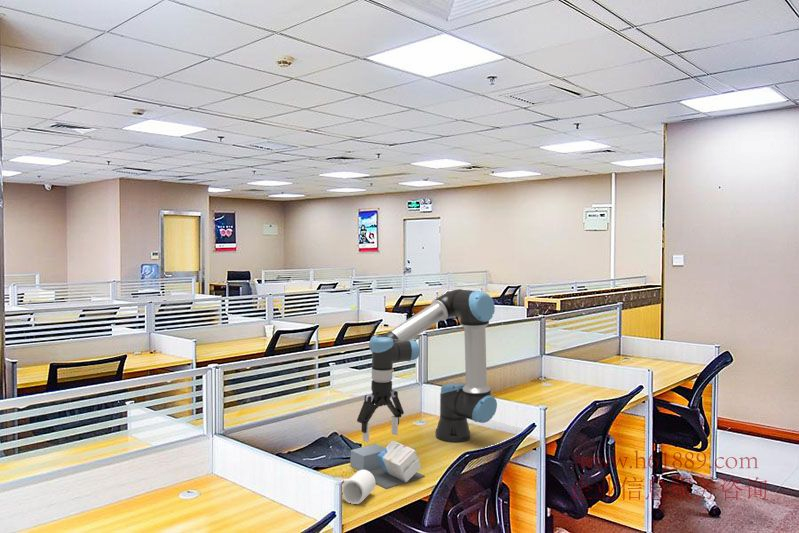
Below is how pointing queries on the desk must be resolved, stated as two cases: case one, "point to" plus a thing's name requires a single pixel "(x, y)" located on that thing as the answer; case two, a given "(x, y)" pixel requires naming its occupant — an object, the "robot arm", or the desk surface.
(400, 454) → the ink box
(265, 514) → the desk surface
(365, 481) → the mug
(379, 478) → the mat
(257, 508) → the desk surface
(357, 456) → the step
